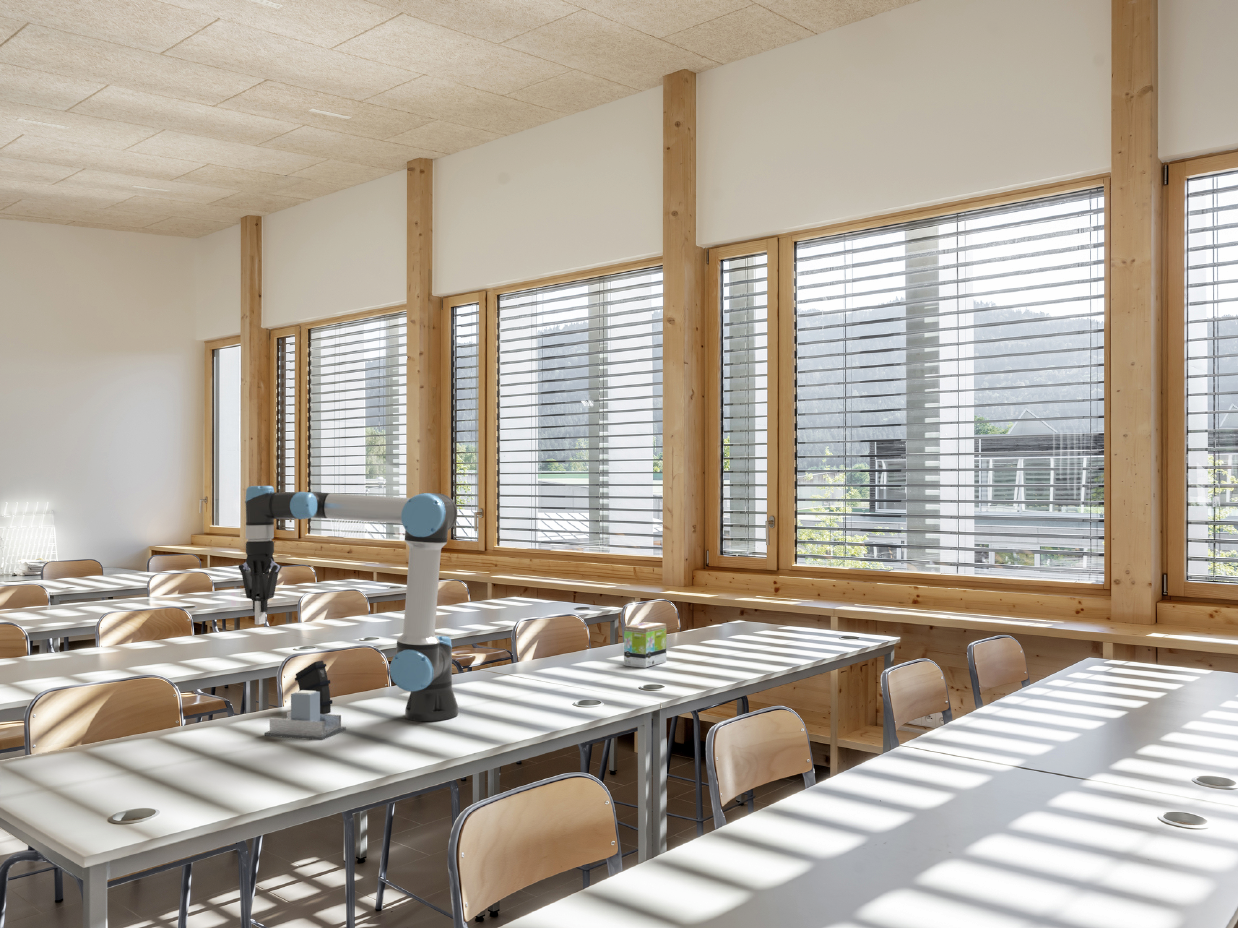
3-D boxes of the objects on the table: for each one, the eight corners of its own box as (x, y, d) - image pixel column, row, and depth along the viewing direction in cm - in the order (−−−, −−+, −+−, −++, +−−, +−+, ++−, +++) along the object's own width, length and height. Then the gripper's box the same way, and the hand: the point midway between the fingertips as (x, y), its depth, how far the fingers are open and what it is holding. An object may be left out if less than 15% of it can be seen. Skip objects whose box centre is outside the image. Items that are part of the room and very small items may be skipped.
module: (320, 724, 263) (319, 690, 263) (310, 728, 259) (309, 693, 259) (301, 723, 265) (301, 689, 265) (291, 727, 260) (290, 692, 261)
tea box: (646, 668, 349) (646, 627, 350) (623, 666, 355) (622, 625, 355) (667, 661, 362) (666, 622, 362) (644, 659, 367) (644, 620, 368)
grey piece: (345, 729, 264) (345, 713, 264) (322, 739, 254) (322, 723, 254) (289, 725, 270) (289, 710, 270) (264, 735, 259) (264, 719, 259)
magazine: (328, 710, 281) (314, 661, 285) (303, 724, 288) (290, 676, 292) (339, 707, 284) (325, 659, 288) (314, 721, 291) (300, 674, 295)
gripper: (287, 539, 274) (288, 622, 274) (249, 539, 278) (249, 621, 278) (270, 540, 267) (271, 626, 267) (231, 540, 271) (231, 624, 270)
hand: (260, 623), depth 272 cm, fingers closed
